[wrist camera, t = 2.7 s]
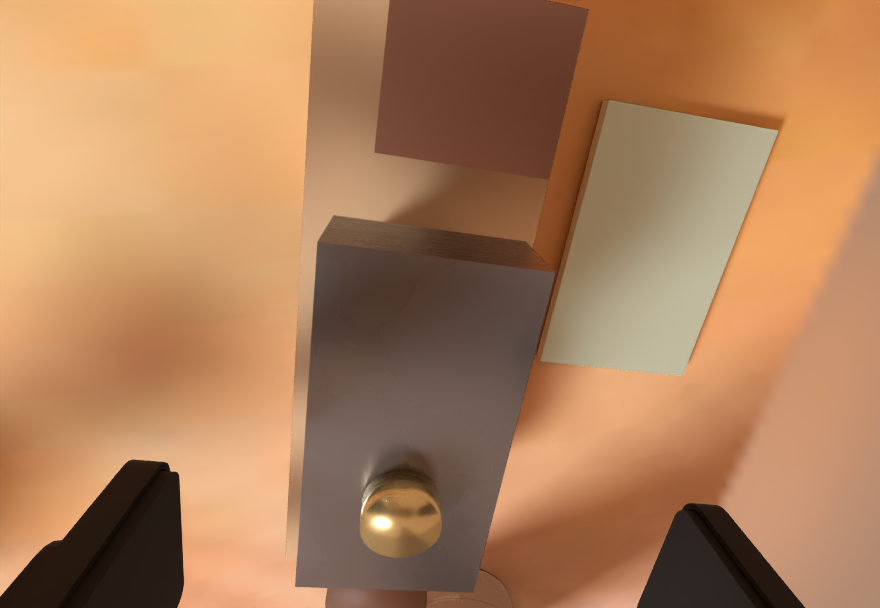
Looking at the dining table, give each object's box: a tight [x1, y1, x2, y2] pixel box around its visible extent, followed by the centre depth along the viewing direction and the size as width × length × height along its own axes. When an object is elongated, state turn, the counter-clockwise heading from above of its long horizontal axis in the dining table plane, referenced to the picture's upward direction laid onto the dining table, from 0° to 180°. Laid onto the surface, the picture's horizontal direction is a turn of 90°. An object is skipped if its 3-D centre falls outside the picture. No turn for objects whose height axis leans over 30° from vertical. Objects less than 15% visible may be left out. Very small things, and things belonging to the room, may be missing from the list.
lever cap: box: [295, 215, 556, 593], centre depth 11 cm, size 9×5×3 cm, turn 171°
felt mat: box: [537, 100, 778, 376], centre depth 20 cm, size 11×7×1 cm, turn 171°
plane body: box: [285, 0, 589, 608], centre depth 15 cm, size 20×7×11 cm, turn 171°
